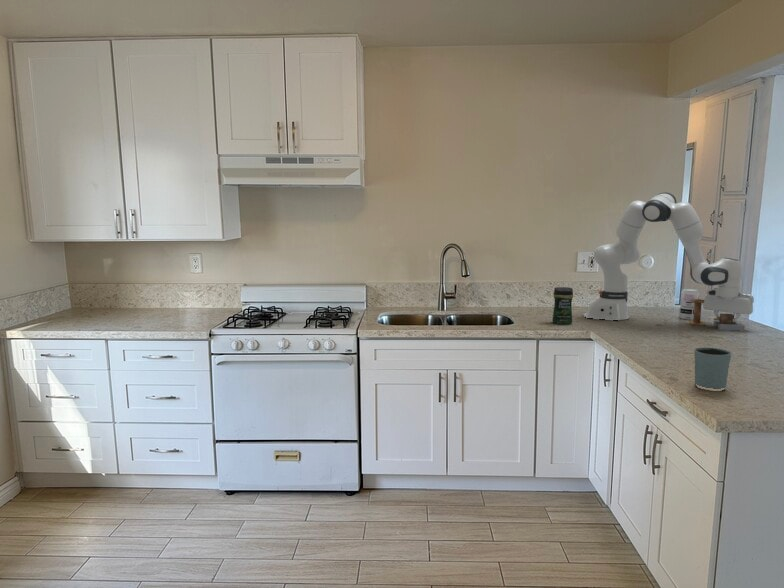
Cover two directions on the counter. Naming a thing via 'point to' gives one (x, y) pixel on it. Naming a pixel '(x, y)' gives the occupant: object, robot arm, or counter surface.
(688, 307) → the supplement can
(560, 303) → the coffee jar
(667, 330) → the counter surface
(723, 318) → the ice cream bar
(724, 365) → the teal cup
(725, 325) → the notch board
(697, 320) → the bobbin
